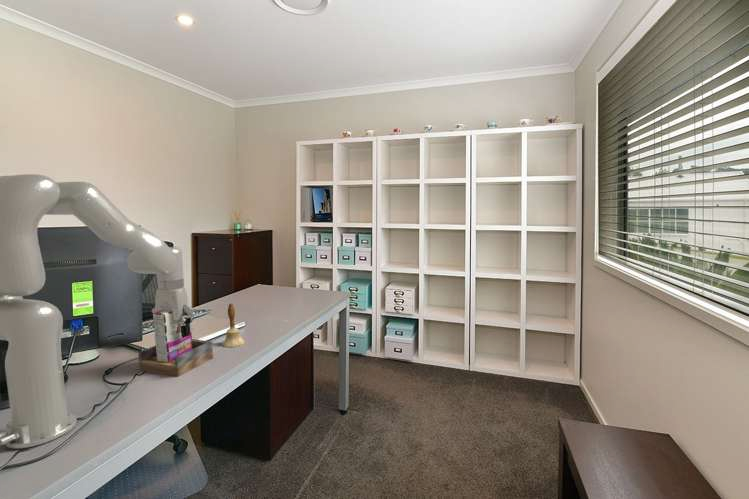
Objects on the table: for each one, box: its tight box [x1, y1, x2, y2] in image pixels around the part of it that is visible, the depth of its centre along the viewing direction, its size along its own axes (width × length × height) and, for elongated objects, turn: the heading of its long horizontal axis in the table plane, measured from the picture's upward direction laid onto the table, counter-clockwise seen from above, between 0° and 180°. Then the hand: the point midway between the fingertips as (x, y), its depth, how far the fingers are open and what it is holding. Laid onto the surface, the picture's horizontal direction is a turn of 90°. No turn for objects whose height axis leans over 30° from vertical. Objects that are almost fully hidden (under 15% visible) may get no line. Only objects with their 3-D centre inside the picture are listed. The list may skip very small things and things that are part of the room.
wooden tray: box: [138, 338, 214, 377], centre depth 124 cm, size 15×16×6 cm
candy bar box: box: [152, 304, 193, 363], centre depth 122 cm, size 11×5×16 cm, turn 166°
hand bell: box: [221, 303, 246, 348], centre depth 142 cm, size 8×8×16 cm
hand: (174, 334), depth 123 cm, fingers open, 9 cm apart
